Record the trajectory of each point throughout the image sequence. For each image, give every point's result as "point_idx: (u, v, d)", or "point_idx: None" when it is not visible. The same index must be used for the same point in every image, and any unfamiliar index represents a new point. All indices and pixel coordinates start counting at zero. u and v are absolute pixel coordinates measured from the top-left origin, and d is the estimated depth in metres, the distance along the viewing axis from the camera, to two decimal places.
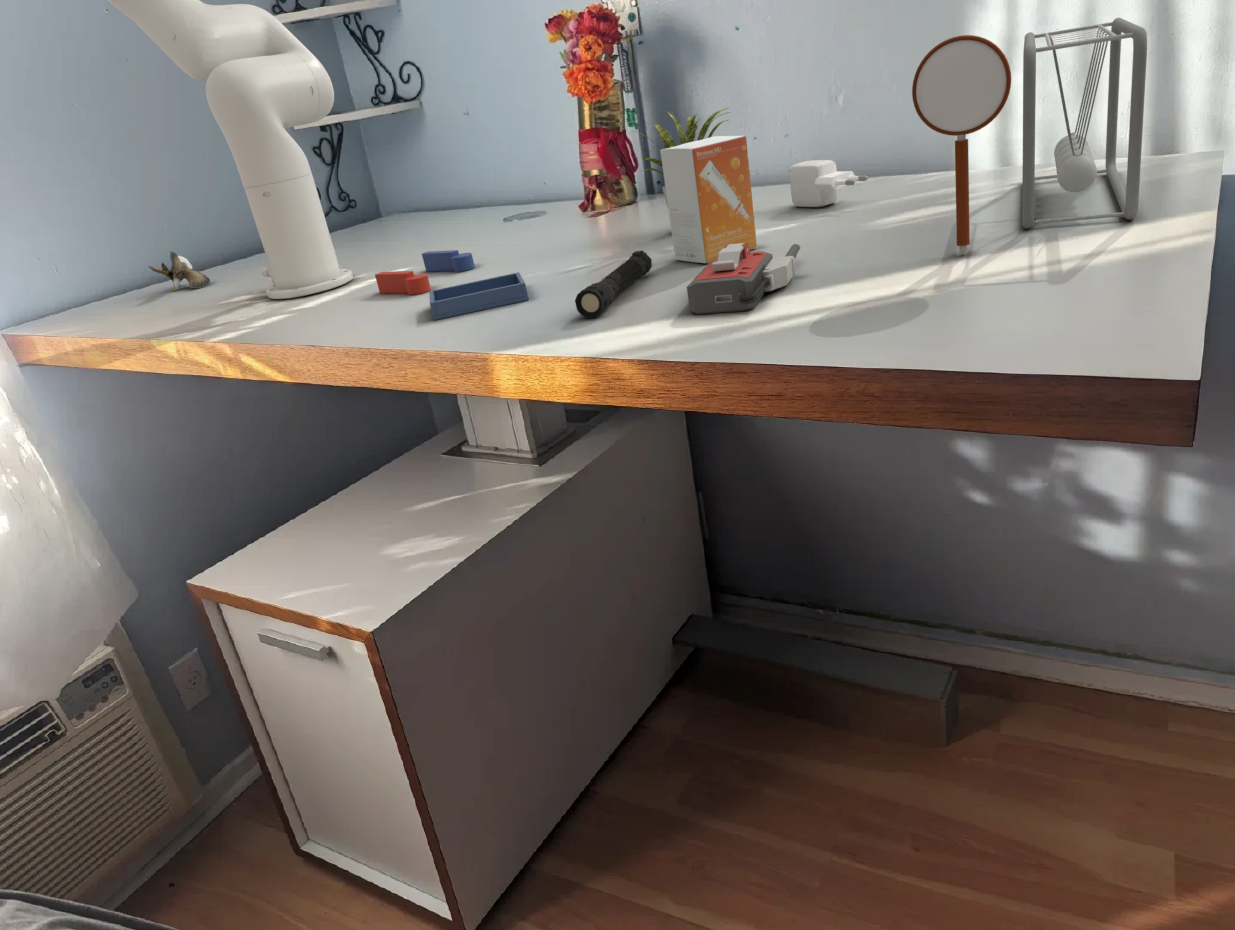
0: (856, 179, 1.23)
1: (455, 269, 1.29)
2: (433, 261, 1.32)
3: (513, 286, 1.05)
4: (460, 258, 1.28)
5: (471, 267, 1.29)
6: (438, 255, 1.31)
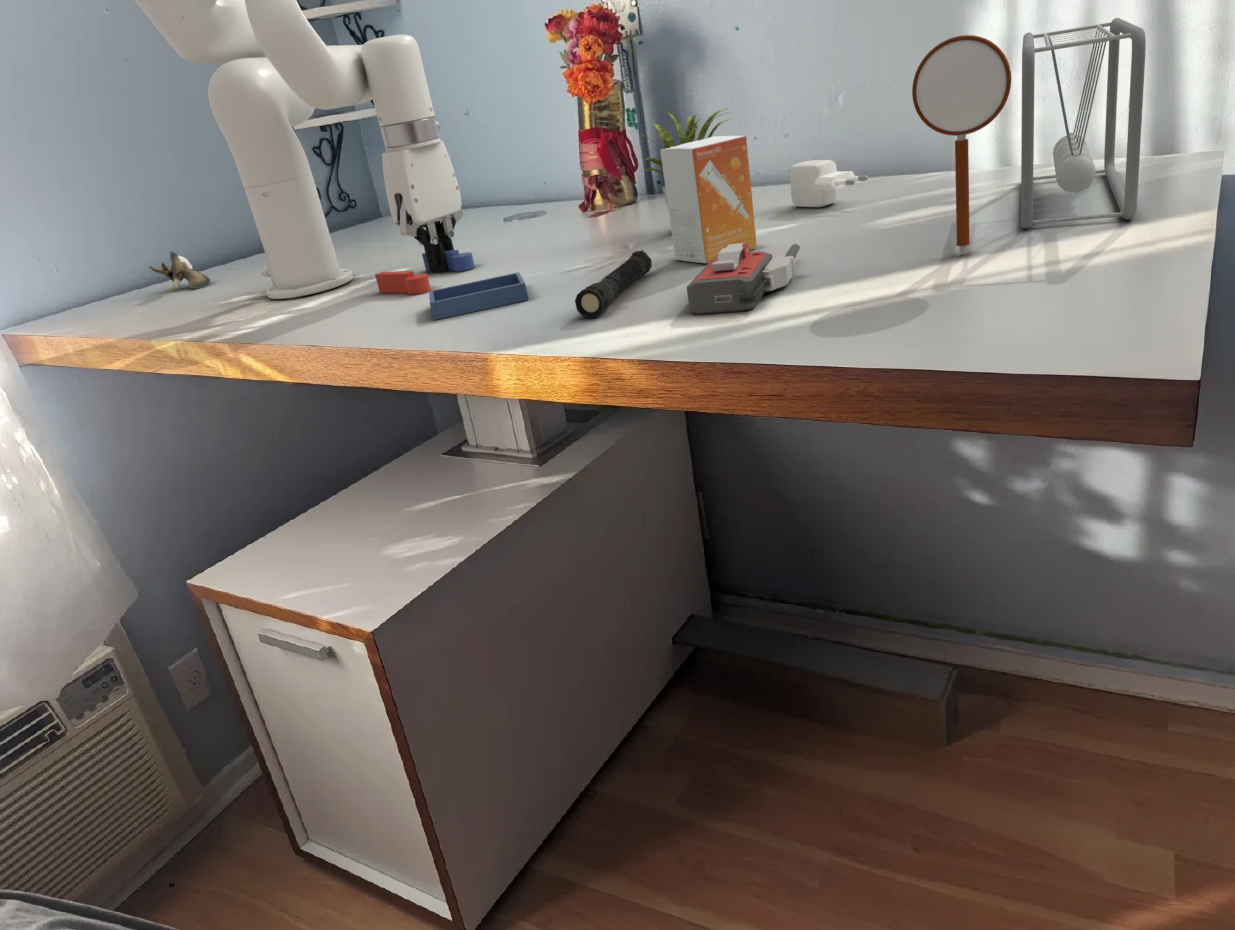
0: (856, 179, 1.23)
1: (455, 269, 1.29)
2: None
3: (513, 286, 1.05)
4: (460, 258, 1.28)
5: (471, 267, 1.29)
6: None
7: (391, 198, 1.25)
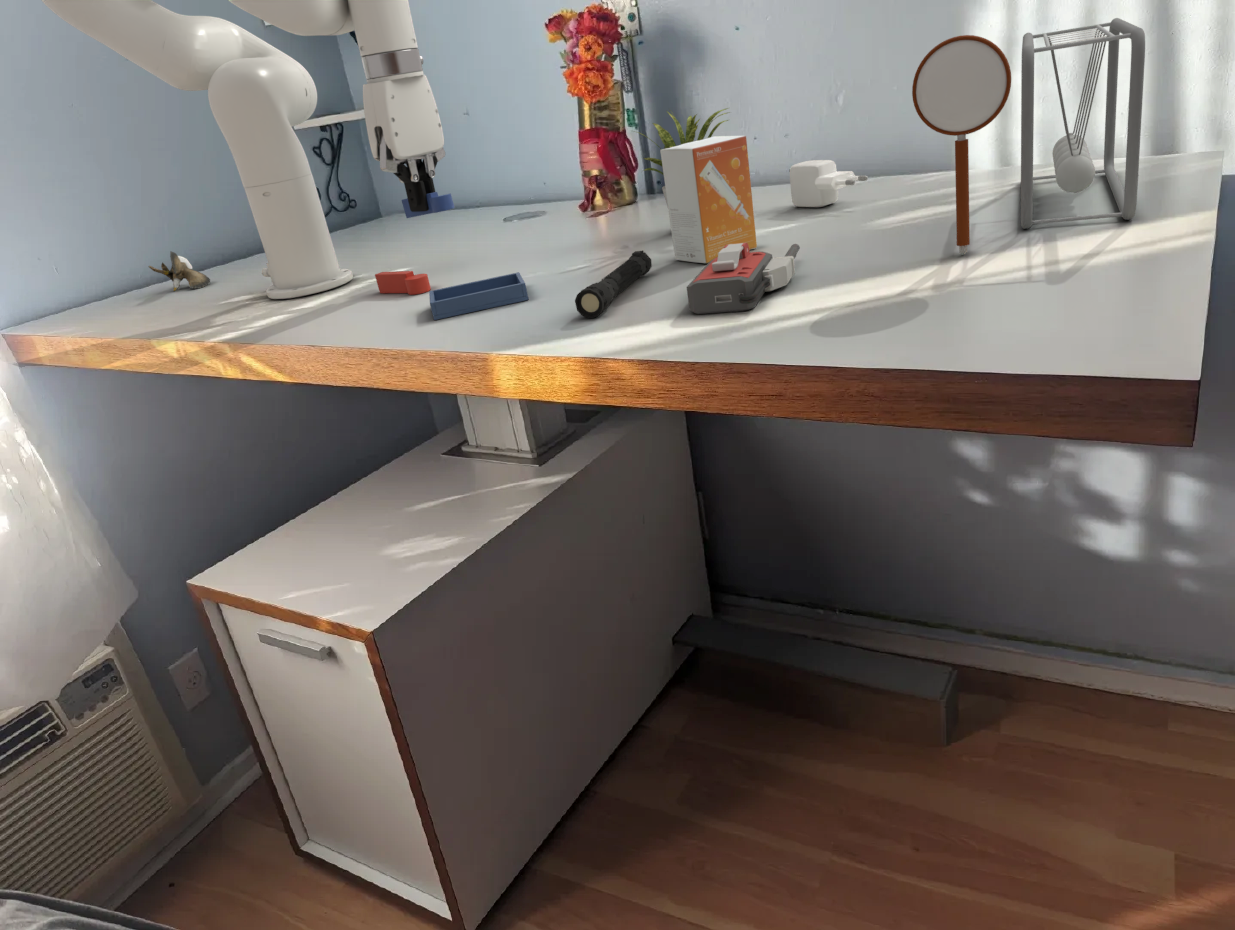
0: (856, 179, 1.23)
1: (434, 210, 1.26)
2: None
3: (513, 286, 1.05)
4: (439, 197, 1.25)
5: (450, 207, 1.26)
6: None
7: (370, 132, 1.22)
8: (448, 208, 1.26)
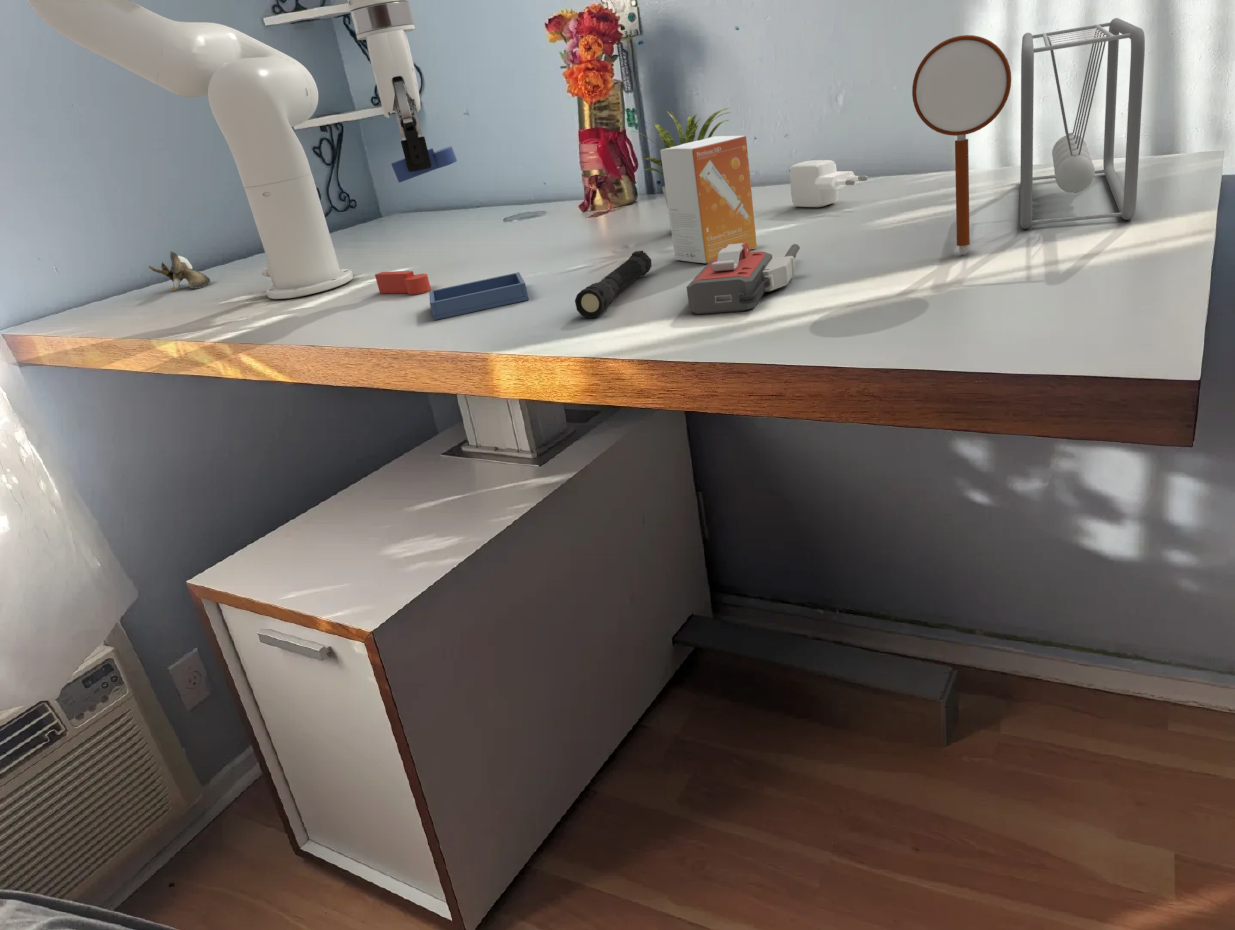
0: (856, 179, 1.23)
1: (444, 163, 1.25)
2: None
3: (513, 286, 1.05)
4: (448, 149, 1.25)
5: (456, 159, 1.27)
6: None
7: (386, 83, 1.17)
8: (456, 160, 1.26)
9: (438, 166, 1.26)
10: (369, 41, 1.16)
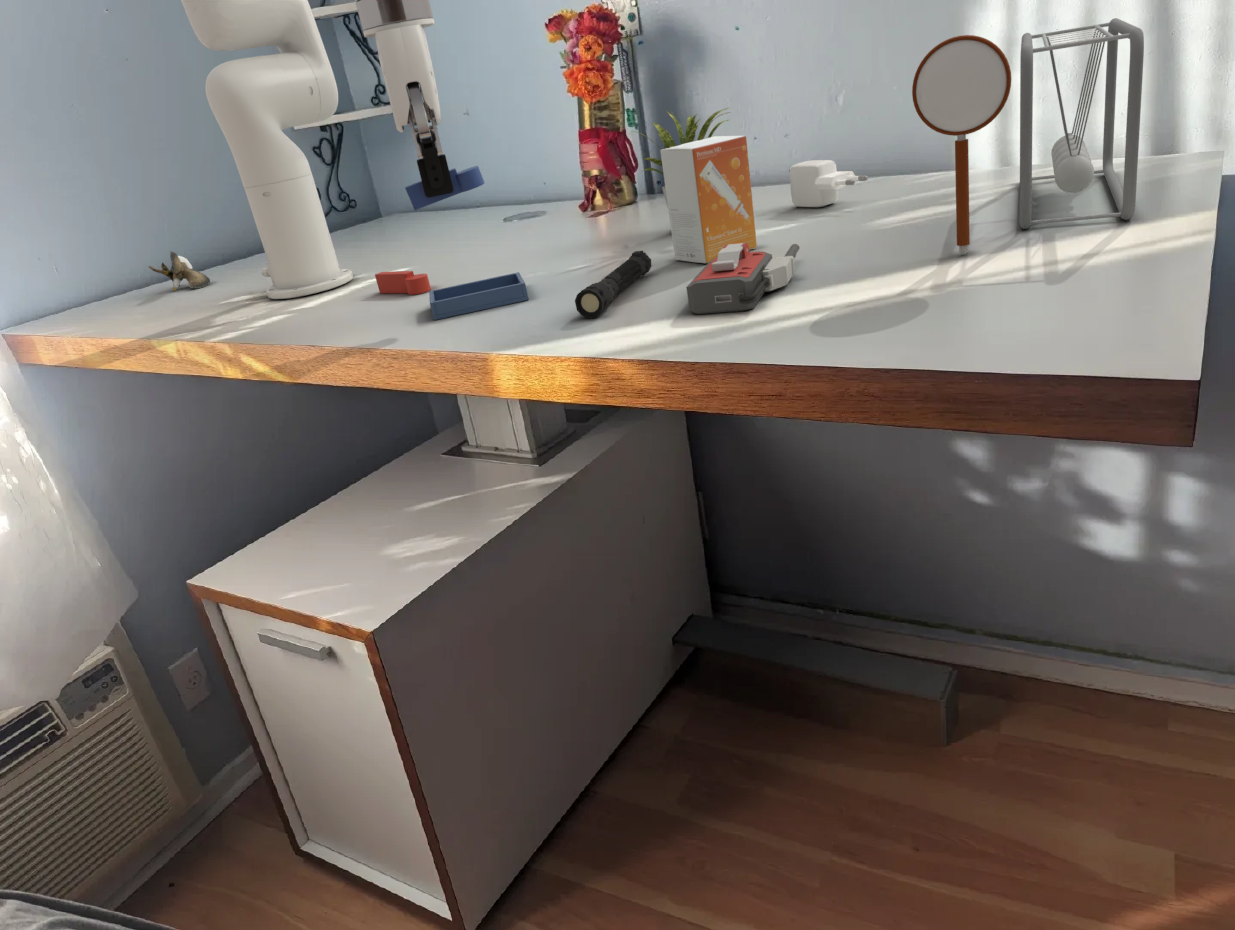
0: (856, 179, 1.23)
1: (469, 186, 1.03)
2: None
3: (513, 286, 1.05)
4: (474, 169, 1.03)
5: (483, 181, 1.05)
6: None
7: (399, 91, 0.95)
8: (483, 182, 1.04)
9: (462, 190, 1.04)
10: (378, 38, 0.94)
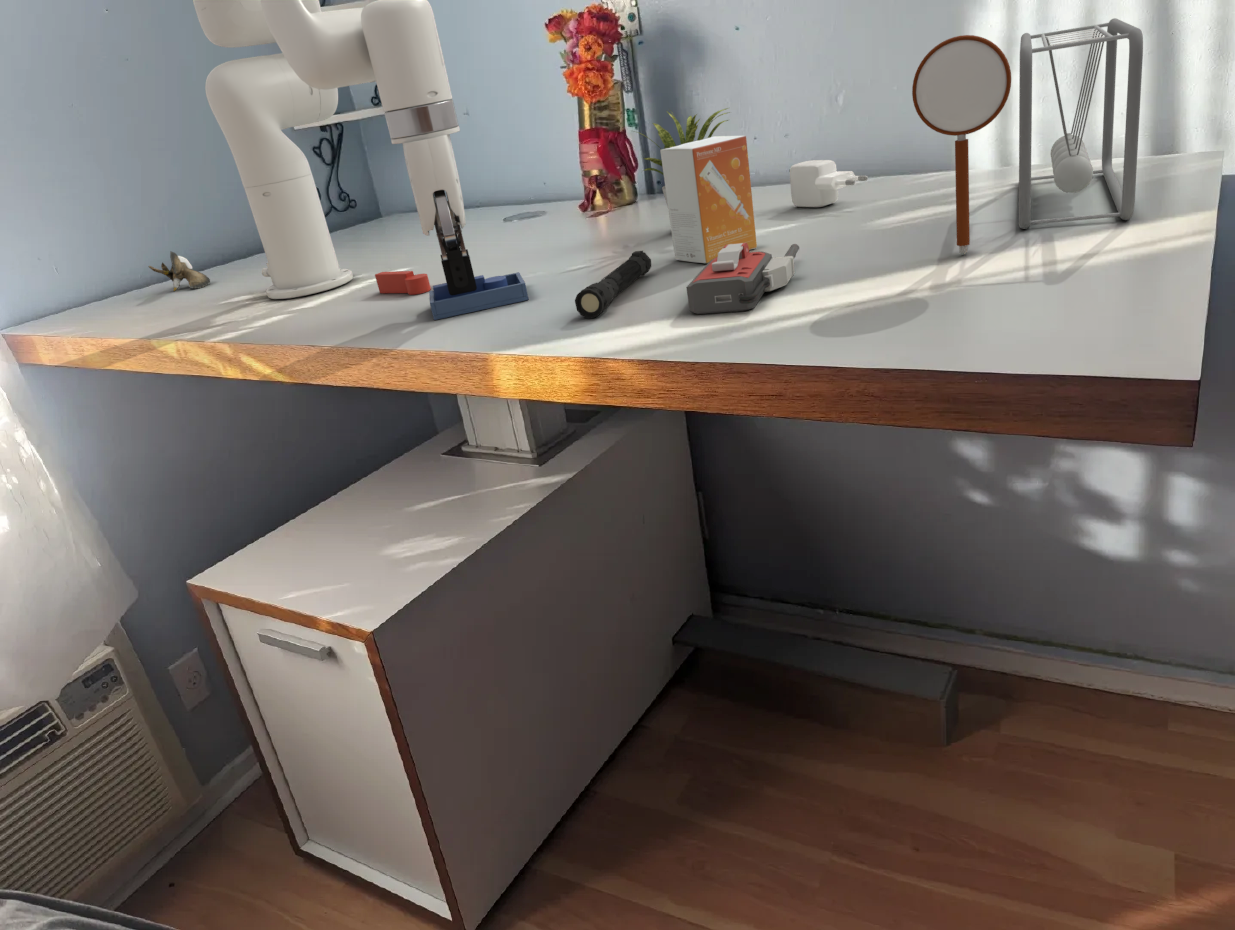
0: (856, 179, 1.23)
1: None
2: None
3: (513, 286, 1.05)
4: (502, 280, 1.07)
5: None
6: None
7: (426, 198, 0.98)
8: None
9: None
10: (406, 149, 0.97)
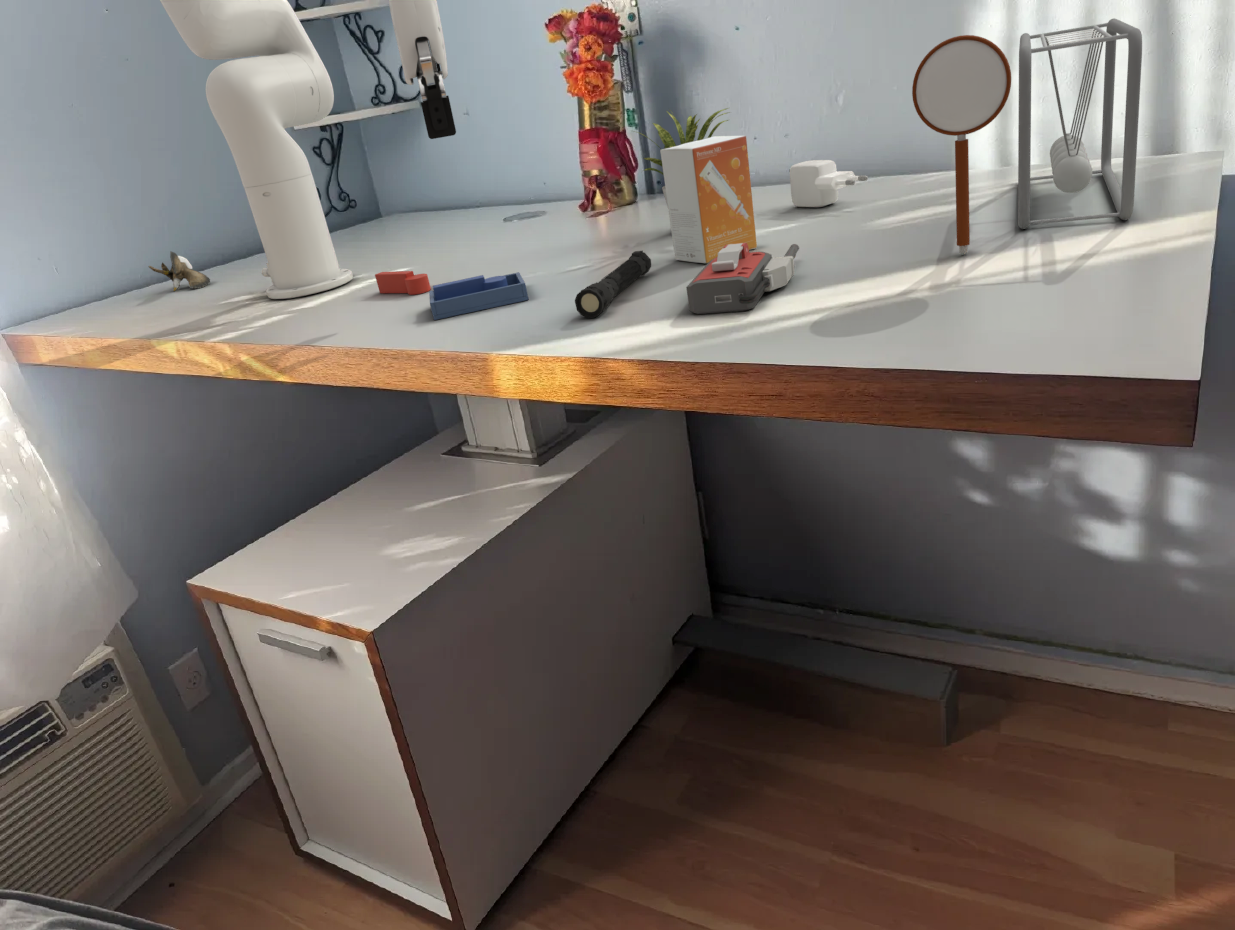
0: (856, 179, 1.23)
1: None
2: (451, 294, 1.07)
3: (513, 286, 1.05)
4: (502, 280, 1.07)
5: None
6: (461, 284, 1.06)
7: (409, 45, 1.01)
8: None
9: None
10: None
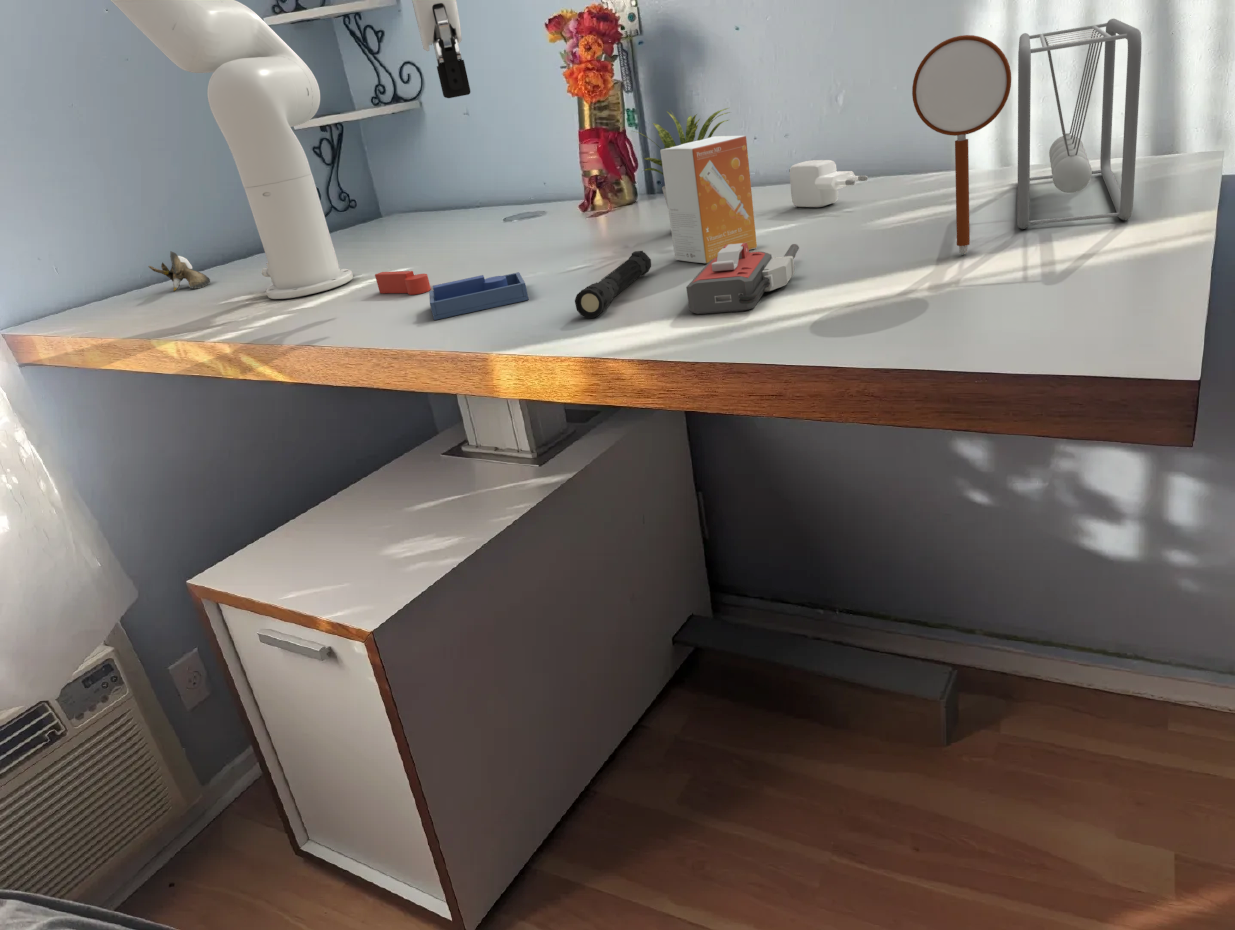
0: (856, 179, 1.23)
1: None
2: (451, 294, 1.07)
3: (513, 286, 1.05)
4: (502, 280, 1.07)
5: None
6: (461, 284, 1.06)
7: (426, 11, 1.11)
8: None
9: None
10: None
